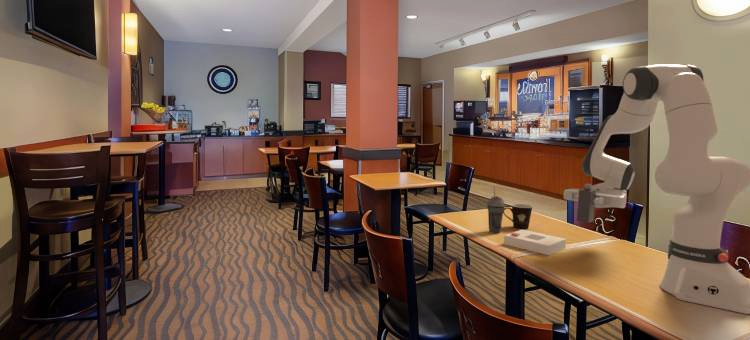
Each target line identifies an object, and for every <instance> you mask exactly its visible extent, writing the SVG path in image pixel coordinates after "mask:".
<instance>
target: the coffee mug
mask: <svg viewBox="0 0 750 340" xmlns="http://www.w3.org/2000/svg"><path fill="white" fill-rule="evenodd" d="M506 210H510V212H511V213H512V218H511V217H510V216H508V215H507V214H506V213H505V211H506ZM532 211H533V206H532V205H529V204H526V203H525V204H523V203H513V204H512V205H511V207H508V206H507V207H504V211H503V216H505V218H507V219H509V220H510V221H511V222H512V225H513V226H512V228H513V229H517V230H529V226H530V221H531V216H532Z"/></svg>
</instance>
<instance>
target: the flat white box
mask: <svg viewBox="0 0 750 340" xmlns="http://www.w3.org/2000/svg"><path fill="white" fill-rule="evenodd" d="M566 244H567V239H566V238H562V237H559V236H554V235H549V234H544V233H540V232H536V231H531V230H528V229H526V230H521V229H518V230H516V231H512V232H511V233H507V234H504V236H503V245H505V246H510V247H514V248H518V249H523V250H525V249H526V251H530V252H533V253H539V254H542V255H545V256H550V255H552V254H555V253H557V252H559V251H562V250H563V249H566Z"/></svg>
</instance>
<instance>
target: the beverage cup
mask: <svg viewBox="0 0 750 340" xmlns="http://www.w3.org/2000/svg"><path fill="white" fill-rule="evenodd" d="M486 206H487V211H488V217H487V218H488V232H489V233H491V234H501V229H502V223H503V216H504V213H503V211H504V212H505V210H504V208H506V206H505V202H504V199H503V198H502V197H500V196H497V195H496V186H495V185H493V196H492V197H490V198H489V200H488V202H487V205H486Z"/></svg>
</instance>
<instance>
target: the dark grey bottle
mask: <svg viewBox="0 0 750 340" xmlns="http://www.w3.org/2000/svg"><path fill="white" fill-rule="evenodd" d="M591 186H592V184H591V183H585V184H584V188H580V189H581V190H579V197H578V201H577V212H576V213H577V214H576V221H577V222H581V223H587V224H589V223H592V222H594V220H595V209H596V207H595V204H593V203H592V198H595V197H596V190H591Z"/></svg>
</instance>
